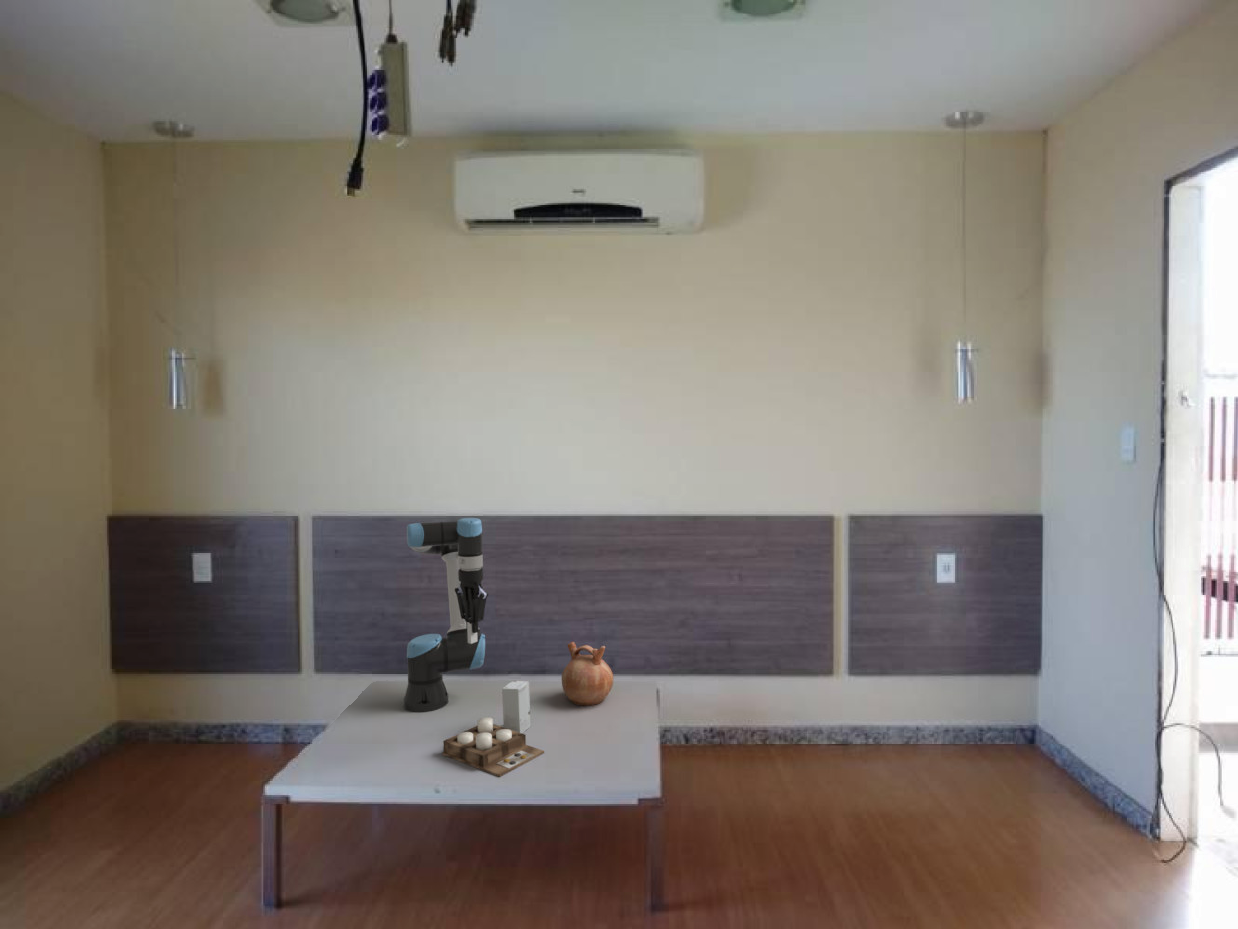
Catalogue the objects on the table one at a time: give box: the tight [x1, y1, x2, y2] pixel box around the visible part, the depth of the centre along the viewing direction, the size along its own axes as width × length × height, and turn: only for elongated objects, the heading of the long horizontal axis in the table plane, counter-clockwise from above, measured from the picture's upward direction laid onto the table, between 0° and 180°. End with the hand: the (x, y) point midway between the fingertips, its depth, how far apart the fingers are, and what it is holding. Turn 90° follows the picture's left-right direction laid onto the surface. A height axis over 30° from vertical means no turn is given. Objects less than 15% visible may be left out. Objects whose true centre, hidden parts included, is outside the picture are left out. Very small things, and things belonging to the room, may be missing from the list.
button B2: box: [496, 729, 512, 742], centre depth 225 cm, size 5×5×4 cm
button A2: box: [477, 716, 494, 733], centre depth 230 cm, size 5×5×4 cm
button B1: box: [476, 733, 492, 752], centre depth 219 cm, size 5×5×4 cm
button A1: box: [456, 731, 473, 745], centre depth 224 cm, size 5×5×4 cm
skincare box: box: [501, 680, 531, 734], centre depth 239 cm, size 8×6×15 cm
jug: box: [561, 641, 614, 707], centre depth 264 cm, size 18×18×20 cm
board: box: [441, 723, 545, 778], centre depth 223 cm, size 24×18×4 cm
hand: (472, 642), depth 237 cm, fingers closed
